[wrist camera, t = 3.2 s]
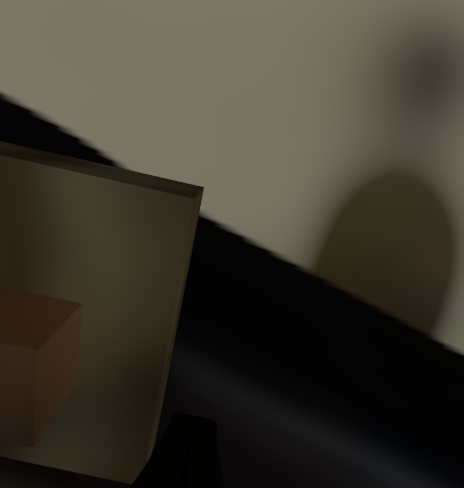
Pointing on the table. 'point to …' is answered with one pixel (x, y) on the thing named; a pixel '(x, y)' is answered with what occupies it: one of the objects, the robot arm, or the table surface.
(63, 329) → the tile
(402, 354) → the table surface
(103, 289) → the olive square panel
